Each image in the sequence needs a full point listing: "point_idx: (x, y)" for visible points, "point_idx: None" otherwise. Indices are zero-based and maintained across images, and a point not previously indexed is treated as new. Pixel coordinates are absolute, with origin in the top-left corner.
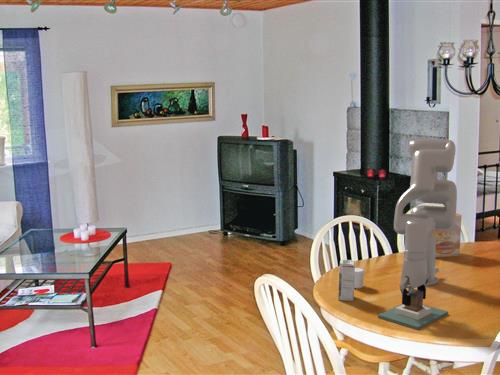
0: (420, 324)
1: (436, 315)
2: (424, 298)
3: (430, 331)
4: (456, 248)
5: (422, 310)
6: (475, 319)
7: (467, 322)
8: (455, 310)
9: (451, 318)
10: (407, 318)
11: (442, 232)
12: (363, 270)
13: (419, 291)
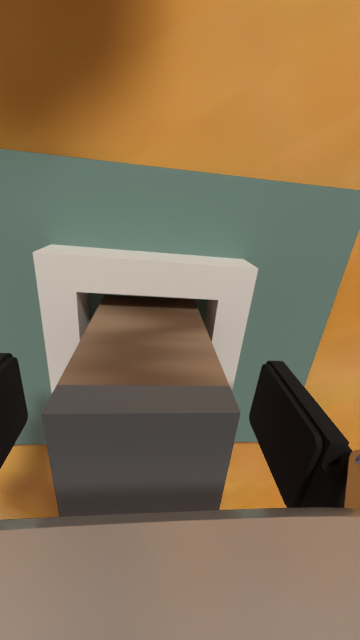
0: (21, 437)
1: None
2: (254, 421)
3: (26, 468)
4: None
5: None
6: (275, 506)
7: (228, 503)
8: (342, 429)
9: (235, 457)
10: (36, 353)
11: None
12: None
13: (186, 508)
